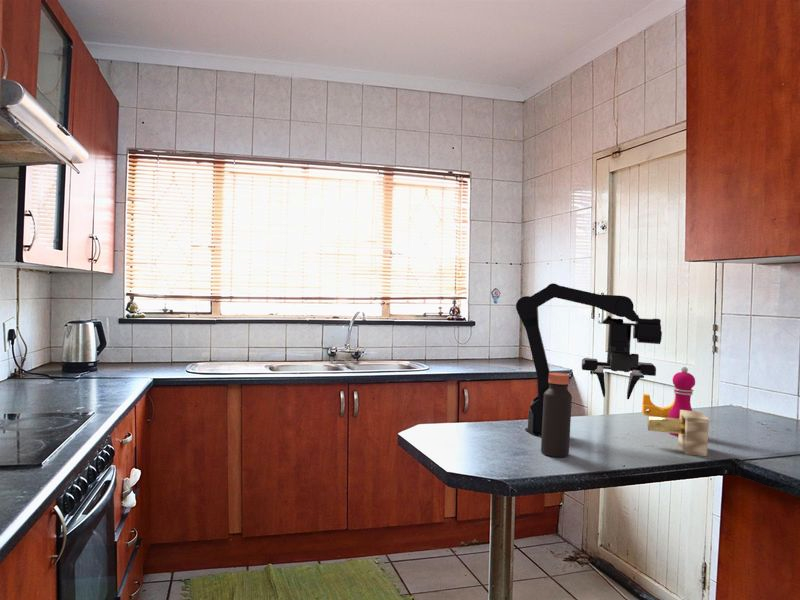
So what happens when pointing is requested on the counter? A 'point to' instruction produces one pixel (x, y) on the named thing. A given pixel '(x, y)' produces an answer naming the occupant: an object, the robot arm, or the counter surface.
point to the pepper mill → (682, 393)
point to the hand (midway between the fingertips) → (615, 398)
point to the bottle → (556, 416)
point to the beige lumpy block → (694, 433)
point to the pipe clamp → (654, 407)
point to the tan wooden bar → (666, 424)
